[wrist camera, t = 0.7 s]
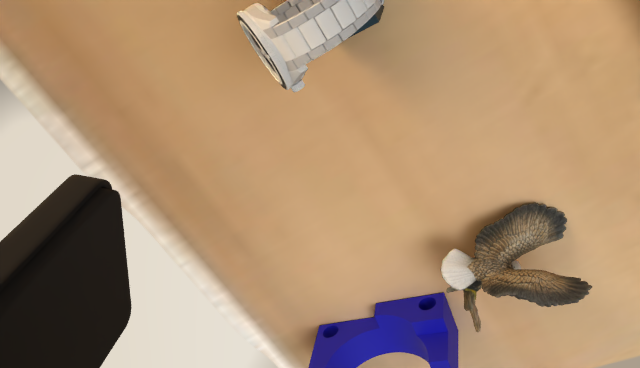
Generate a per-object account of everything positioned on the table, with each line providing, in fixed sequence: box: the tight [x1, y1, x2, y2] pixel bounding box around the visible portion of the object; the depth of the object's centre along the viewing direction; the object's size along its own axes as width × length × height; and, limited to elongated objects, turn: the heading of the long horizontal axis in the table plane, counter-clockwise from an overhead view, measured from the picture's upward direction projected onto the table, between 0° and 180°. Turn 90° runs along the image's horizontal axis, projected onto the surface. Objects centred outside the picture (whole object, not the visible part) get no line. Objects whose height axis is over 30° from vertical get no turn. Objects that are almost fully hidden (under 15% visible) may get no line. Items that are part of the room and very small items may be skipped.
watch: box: [237, 0, 384, 92], centre depth 35 cm, size 6×8×11 cm
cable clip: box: [309, 293, 458, 368], centre depth 52 cm, size 12×4×6 cm, turn 112°
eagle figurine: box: [441, 203, 592, 332], centre depth 45 cm, size 8×7×9 cm
